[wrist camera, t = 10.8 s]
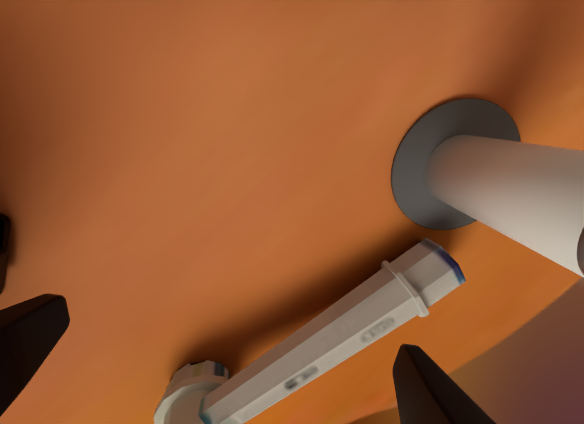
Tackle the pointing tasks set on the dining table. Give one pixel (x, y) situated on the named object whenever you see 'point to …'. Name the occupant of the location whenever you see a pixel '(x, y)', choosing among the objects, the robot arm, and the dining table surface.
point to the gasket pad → (420, 144)
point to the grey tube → (313, 342)
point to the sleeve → (515, 191)
